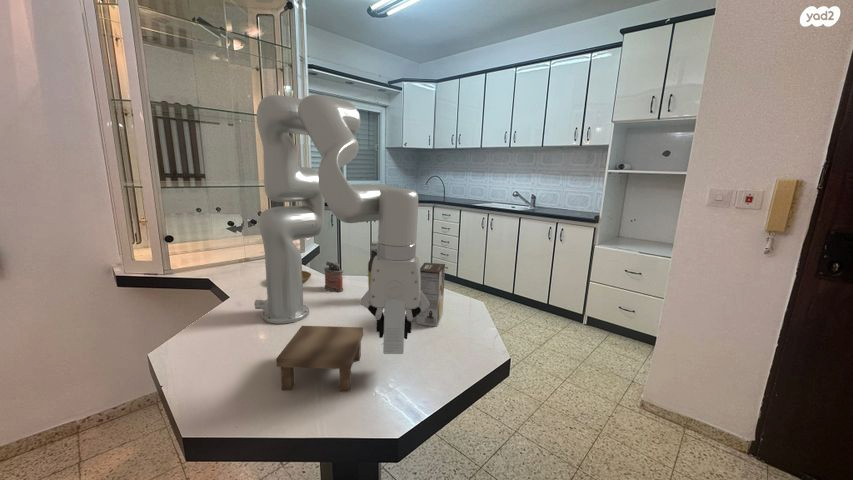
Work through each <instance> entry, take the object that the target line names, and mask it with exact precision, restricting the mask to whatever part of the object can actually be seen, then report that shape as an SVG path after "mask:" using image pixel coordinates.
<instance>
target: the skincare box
mask: <svg viewBox="0 0 853 480" xmlns="http://www.w3.org/2000/svg"><path fill="white" fill-rule="evenodd" d="M383 311H384V312H383V314H384V334H383V346H382V347H383V352H382V353H383V354H384V355H403V354H404V350H405V349H404V347H405V346H404V345H405V338H404V326H405V316H406V311H405V300H396V299H385V308H383Z"/></svg>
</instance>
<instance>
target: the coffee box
mask: <svg viewBox="0 0 853 480" xmlns="http://www.w3.org/2000/svg"><path fill="white" fill-rule="evenodd" d="M445 268H446V264H445V263H435V262H424V263H423V264H422V266H420V275H421V291H422V292H423V294H424V295H425V297H426V298H427V300H428V301H429V303H430V306H429V307H428V308H427V309H425V310H423V311H421V312H420V313H419V314H418V315H417V316H416V324H417V325H421V326H430V327H438V326H439V325H440V322H441V319H442V317H443V314H444V293H445V271H446V269H445ZM420 303H421V302H420ZM420 303H419V304H420Z"/></svg>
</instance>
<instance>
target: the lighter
mask: <svg viewBox="0 0 853 480" xmlns="http://www.w3.org/2000/svg"><path fill="white" fill-rule="evenodd" d="M325 265H326V267H324V269H323V270H324V281H325V282H324V284H325V285H324V289H325V290H328V291H331V292H334V293H342V292H344V286H343V279H344V278H343V274H344V270H343V269H341V267H340V266H341V265H340V264H339V263H337V262H336V261H335V262H334V261H333V262H332V261H326V263H325Z"/></svg>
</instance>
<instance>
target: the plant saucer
mask: <svg viewBox="0 0 853 480" xmlns="http://www.w3.org/2000/svg"><path fill="white" fill-rule="evenodd" d="M311 277H312V273H311V272H309V271H307V270H302V284H305V283H306V282H307V281H308V280H309V279H310V278H311Z"/></svg>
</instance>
